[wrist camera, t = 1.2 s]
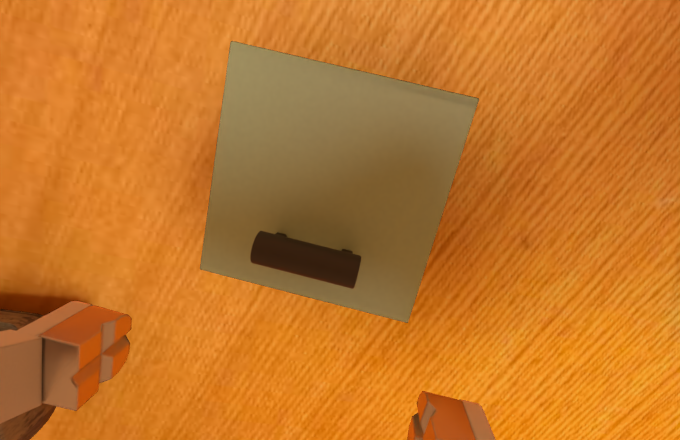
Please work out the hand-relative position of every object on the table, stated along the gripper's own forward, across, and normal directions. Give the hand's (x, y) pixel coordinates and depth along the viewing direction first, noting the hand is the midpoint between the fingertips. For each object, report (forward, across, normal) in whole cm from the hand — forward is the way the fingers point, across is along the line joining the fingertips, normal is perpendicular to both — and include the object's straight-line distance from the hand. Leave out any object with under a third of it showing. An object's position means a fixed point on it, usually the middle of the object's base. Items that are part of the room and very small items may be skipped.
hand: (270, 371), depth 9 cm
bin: (+14, 0, -10) cm, 17 cm away
